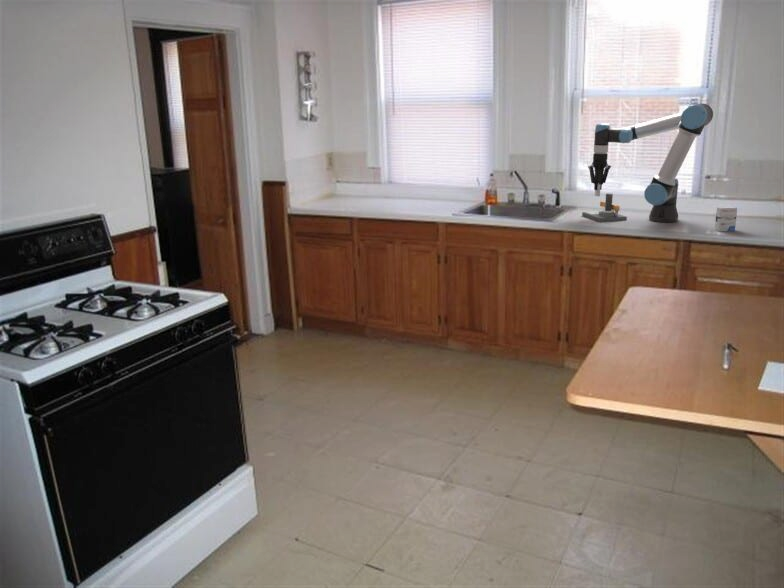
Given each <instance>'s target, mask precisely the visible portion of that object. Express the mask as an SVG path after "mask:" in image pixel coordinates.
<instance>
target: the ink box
mask: <svg viewBox="0 0 784 588" xmlns="http://www.w3.org/2000/svg"><path fill="white" fill-rule="evenodd" d="M737 214H738V208H737V207H735V206H717V207H716V212H715V222H714V230H715V231H717V230H718V232H734V231H735V230H736V222H737Z"/></svg>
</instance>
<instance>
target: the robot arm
mask: <svg viewBox="0 0 784 588" xmlns="http://www.w3.org/2000/svg"><path fill="white" fill-rule="evenodd" d="M713 118H714V111H713V109H712V107H711V106H710V105H709V104H706V103H701V102H700V103H692V104H690V105H688V106H686V107H685V108H684V109H683V110H682V112H679V113H675V114H672V115H669V116H665V117H660V118H657V119H652V120H648V121H646V122H642V123H637V124H635V125H629V126H626V127H621V128H618V127H617V128H615V127H611V125H610V124H609V123H597V124H596V125H595V130H594V145H593V156H592V164H591V165H588V166H587V168H588V170H589V175H590V176H589V178H590V182H591V184H593V186H594V187H593V190H594V196H595V197H600V195H601V191H602V188H603V186H602V185H604V184H605V183H606V181H607V178H608V175H609V171H610V169H611V168H612V166H611V165H609V164H608V161H607V160H608V153H609V144H610V143H617V144H620V143H621V144H630V143H631V142H632V141H634V140H637V139H642V138H646V137H650V136H653V135H658V134H661V133H666V132H670V131H674V130H678V132H677V134H676V137H675V138H674V141H673V143H672V145H671V147H670V149H669V151H668V153H667V155H666V157H665V159H664V161H663V164H662V166H661V168H660V170H659V171H658V173H657V174H654V175H653V178H652V179H651V181H650V183H649V184H648V185H647V186H646V188H645V189H644V193H643V195H644V199H645V201H646V202H647V203H648V204H650V205H651V206H652V208H651V211H650V213H649V215H648V220H649V221H652V222H657V223H676V222H678V221H679V213H678V209H677V200H678V192H679V190H678V189H679V179H678V178H676V177H677V176H678V174H679V172H680V169H681V168H682V166H683V163H684V161H685V159H686V158H687V155H688V153H689V151H690V149H691V148H692V145H693V144H694V141H695V139H696V138H697V137H698V136H700V135H702V132H703V130H704V128H705V127H706V126H707V125H709V124H710V123H711V121H712V120H713Z"/></svg>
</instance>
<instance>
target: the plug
mask: <svg viewBox="0 0 784 588" xmlns="http://www.w3.org/2000/svg"><path fill="white" fill-rule="evenodd" d="M613 198H614V194H613V193H606V194H605V201H604V202H605V207H604V209H602V211H603V213H606V214H608V213H614V212H615V211H614V210H612V204H613Z"/></svg>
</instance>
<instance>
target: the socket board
mask: <svg viewBox="0 0 784 588" xmlns="http://www.w3.org/2000/svg"><path fill="white" fill-rule="evenodd" d="M581 213H582V214H581V216H582V217H584V218H587V219H589V220H592V221H596V222H598V223H607V222H620V221H627V216H625V215H624V214H623V215H622V214H621V213H620V214H619V211H614V213H608V214H606V213H603V210H600V211H599V210H595V211H583V212H581Z"/></svg>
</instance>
